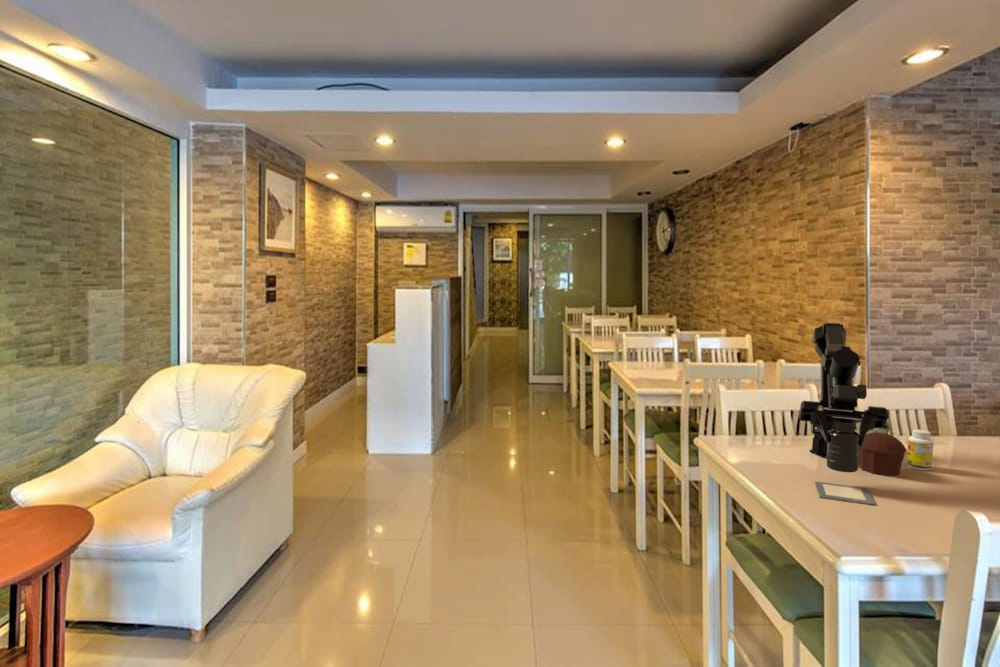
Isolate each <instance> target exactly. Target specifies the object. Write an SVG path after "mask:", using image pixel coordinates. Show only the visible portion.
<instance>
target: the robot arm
mask: <svg viewBox="0 0 1000 667" xmlns="http://www.w3.org/2000/svg"><path fill="white" fill-rule="evenodd" d="M812 333H813V334H812V344H814V351H815V353H816V354H817V355H818V356H819V358H820V401H813V400H803V401H801V402H800V407H799V413H798V414H799V415H798V416H799V420H800V421H801V422H809V423H810V431H811V434H813V437H812V442H811V443H812V445H811V446H812V447H811V449H809V450H808V451H809V452H811V453H812V454H814V455H817V456H820V457H821V458H827V443H828V442H829V434H828V433H829V431H830V430H832V429H834V427H833V420H834V419H847V418H848V419H859V420H861V424H860V427H859V435H860V446H862V443H863V440H864V437H865V435H866V433H867V432H868V430H873V429H874V428H881V429H882V428H885V425H886V423H887V420H888V419H889V417H890V415H889V410H888V409H887V408H886V407H883V406H872V405H871V406H870V405H868V408H867V410H866V411H864V410H863V411H862V410H856V408H857V407H858V399H859V400H866V397H867V392H868V391H867V386H866V384H857V385H854V378H855V376H856V374H857V371H858V368H859V367H861V364H862V361H861V360H860V356H859V355H858V354H857V352H855V351H853V348H852V347H850V346H847V345H846V342H847V329H846V328H844V325H843V324H841V323H840V322H839V323H838V322H824V323H823V324H822V325H820V326H819V327H815V328H814V331H813V332H812ZM888 421H889V420H888Z"/></svg>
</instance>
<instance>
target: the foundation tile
mask: <svg viewBox="0 0 1000 667" xmlns="http://www.w3.org/2000/svg"><path fill="white" fill-rule="evenodd" d="M814 484H815V488H816V491H817V494H818V497H819V499H825V498H827V500H832V499H835V500H834V501H840V500H842V502H847V501H850V502H849V503H854V502H857V503H856V504H861V503H864V504H863V505H868V504H873V505H872V506H876V502H875V501H874V499H873V497H872V495H871V494H870V492H869V490H868V488H867V487H859V486H851V485H845V484H835V483H829V482H822V481H814Z"/></svg>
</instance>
